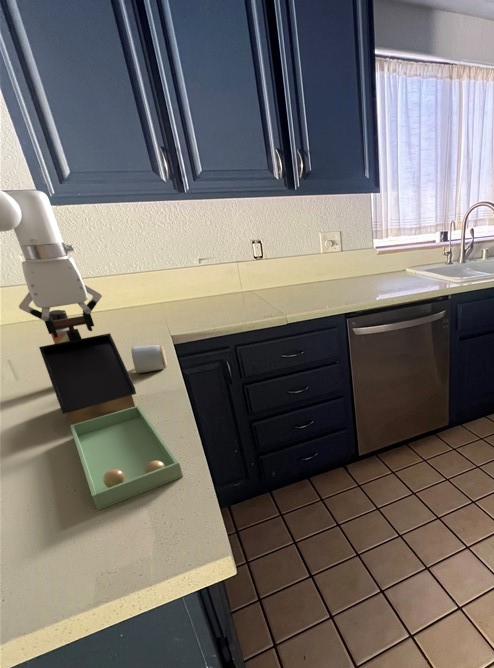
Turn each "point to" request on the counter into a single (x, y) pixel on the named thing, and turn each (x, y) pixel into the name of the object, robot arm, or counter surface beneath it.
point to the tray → (123, 455)
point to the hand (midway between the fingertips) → (73, 332)
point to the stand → (100, 410)
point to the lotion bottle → (60, 332)
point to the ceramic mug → (149, 358)
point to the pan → (85, 368)
